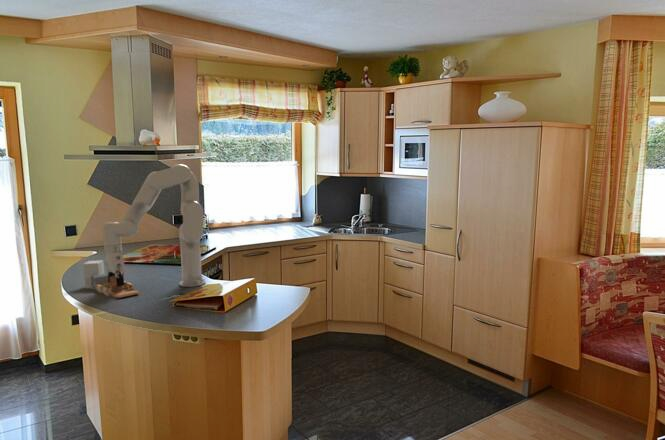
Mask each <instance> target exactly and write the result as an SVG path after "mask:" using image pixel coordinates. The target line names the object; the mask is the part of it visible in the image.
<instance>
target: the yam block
mask: <svg viewBox="0 0 665 440" xmlns="http://www.w3.org/2000/svg"><path fill="white" fill-rule="evenodd" d="M116 278H117V276H111V277H110V288H111V292H114V293H115V292H120V291H123V289H122V286H117V281H116Z"/></svg>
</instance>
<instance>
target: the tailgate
mask: <svg viewBox="0 0 665 440" xmlns="http://www.w3.org/2000/svg"><path fill="white" fill-rule="evenodd" d="M137 294H138V295H139V294H141V293H140V291H139V290H134V291H127V292H122V293H117V294H113V295H111V296H110V297H114V298H124V297H131V296H134V295H137Z"/></svg>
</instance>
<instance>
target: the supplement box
mask: <svg viewBox="0 0 665 440" xmlns="http://www.w3.org/2000/svg"><path fill="white" fill-rule="evenodd" d="M82 266H83V267H82V268H83V279H84V288H85V289H92V288H91V276H94V275H100V274H106V273H105V264H104V259H103V260H102V259H101V260H89V261H86V262H84V263H83V264H82Z"/></svg>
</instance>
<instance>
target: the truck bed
mask: <svg viewBox="0 0 665 440" xmlns="http://www.w3.org/2000/svg"><path fill="white" fill-rule="evenodd" d="M114 274H115V276H116V273H114ZM108 275H109V274H108V272H106V273H105V274H100V275H94V276H91V288H90V289H91V290H94V291H95V292H98V293H101V294H103V295H105V296H107V297H112V296H111V295H113V294H117V293H122V292H127V291H135V285H134V284H133V283H131V282H128V281H125V280H124V285H123V286H122V289H123V291H120V292H115V293H114V292H111V288H110V283H109V282H108ZM118 275H119V273H118Z"/></svg>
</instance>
